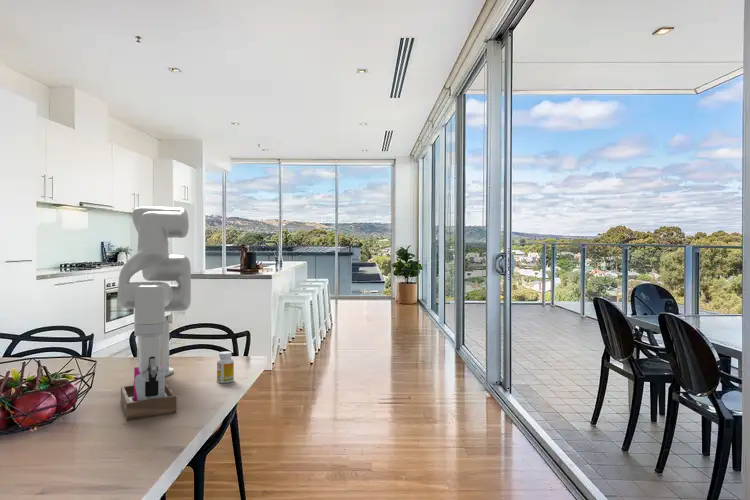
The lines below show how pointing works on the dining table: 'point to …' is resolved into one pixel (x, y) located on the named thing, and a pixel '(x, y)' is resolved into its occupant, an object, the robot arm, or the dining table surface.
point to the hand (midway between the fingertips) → (149, 391)
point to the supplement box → (140, 384)
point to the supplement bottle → (225, 367)
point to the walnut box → (147, 404)
